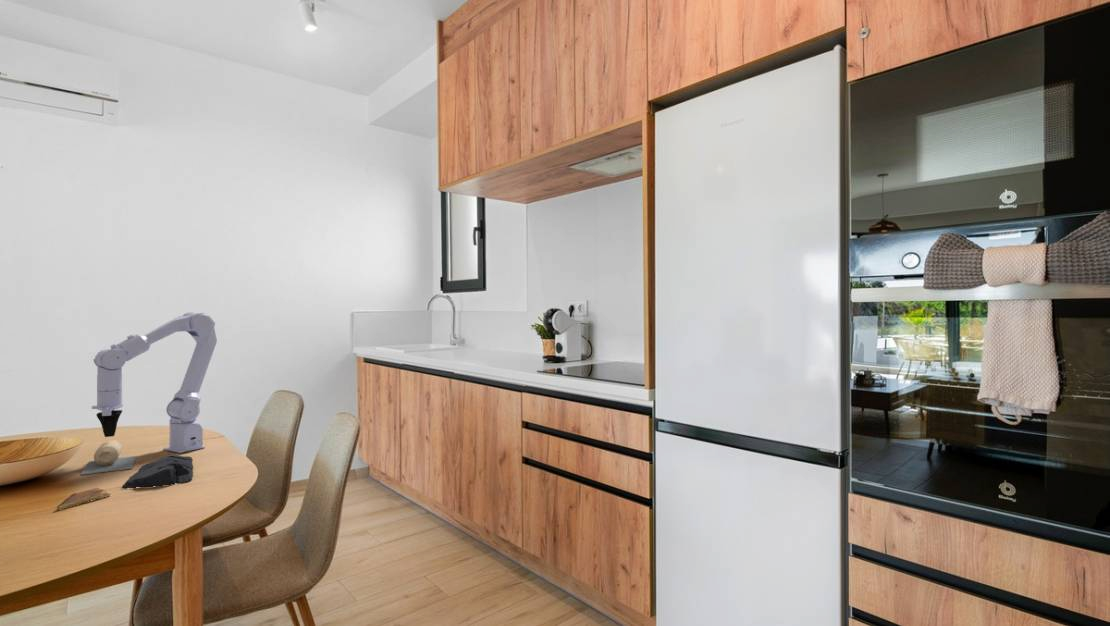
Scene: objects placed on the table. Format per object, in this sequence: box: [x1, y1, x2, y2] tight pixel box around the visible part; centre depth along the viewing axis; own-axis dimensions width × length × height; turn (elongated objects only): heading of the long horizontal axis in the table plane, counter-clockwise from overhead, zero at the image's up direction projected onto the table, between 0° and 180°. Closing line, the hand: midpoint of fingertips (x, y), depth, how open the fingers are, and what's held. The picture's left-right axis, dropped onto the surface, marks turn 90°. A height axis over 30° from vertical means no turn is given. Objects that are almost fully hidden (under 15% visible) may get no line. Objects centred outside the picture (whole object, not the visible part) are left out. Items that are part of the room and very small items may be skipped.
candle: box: [93, 439, 123, 466], centre depth 161 cm, size 6×6×10 cm
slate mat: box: [80, 455, 137, 476], centre depth 158 cm, size 14×11×1 cm
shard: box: [56, 487, 112, 511], centre depth 130 cm, size 11×8×2 cm
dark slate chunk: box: [121, 454, 194, 488], centre depth 150 cm, size 15×22×5 cm
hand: (109, 436), depth 162 cm, fingers closed
